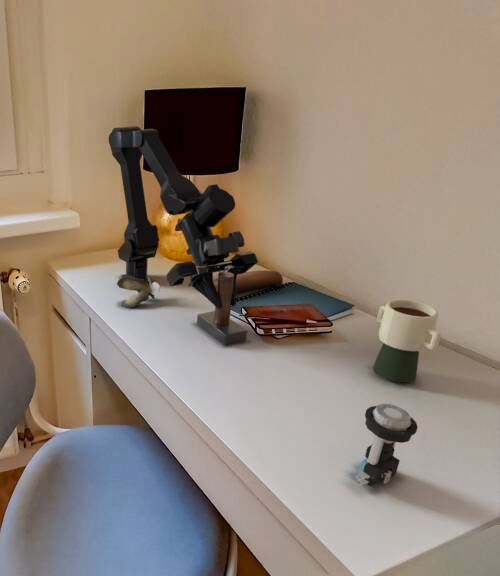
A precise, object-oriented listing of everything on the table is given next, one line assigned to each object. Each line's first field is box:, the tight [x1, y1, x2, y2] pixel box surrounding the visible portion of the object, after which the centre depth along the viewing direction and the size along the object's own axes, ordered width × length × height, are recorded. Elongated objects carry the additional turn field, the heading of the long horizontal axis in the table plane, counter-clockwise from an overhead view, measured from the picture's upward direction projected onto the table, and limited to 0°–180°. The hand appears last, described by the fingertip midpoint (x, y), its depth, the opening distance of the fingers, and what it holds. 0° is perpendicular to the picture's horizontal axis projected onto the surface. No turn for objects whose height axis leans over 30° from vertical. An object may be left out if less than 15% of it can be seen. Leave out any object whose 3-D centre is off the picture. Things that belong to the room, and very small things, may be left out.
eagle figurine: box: [116, 276, 161, 308], centre depth 109 cm, size 8×7×9 cm
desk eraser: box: [196, 272, 248, 347], centre depth 93 cm, size 10×5×13 cm, turn 20°
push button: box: [353, 403, 418, 487], centre depth 57 cm, size 7×5×10 cm
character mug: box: [372, 299, 442, 383], centre depth 77 cm, size 11×7×13 cm, turn 14°
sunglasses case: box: [213, 269, 284, 293], centre depth 115 cm, size 18×7×7 cm
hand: (227, 306), depth 91 cm, fingers closed on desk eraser, 3 cm apart
